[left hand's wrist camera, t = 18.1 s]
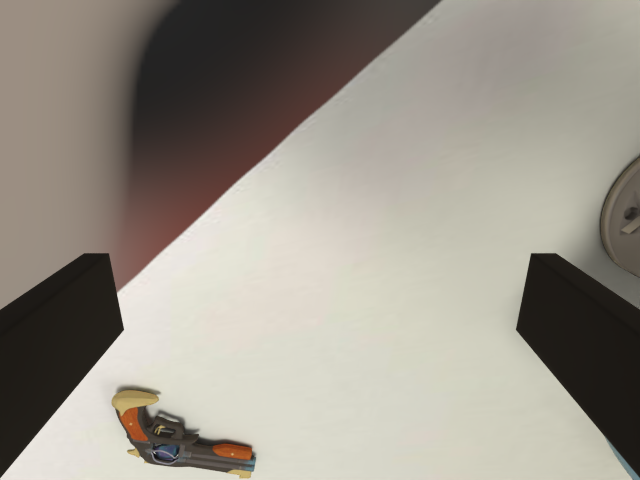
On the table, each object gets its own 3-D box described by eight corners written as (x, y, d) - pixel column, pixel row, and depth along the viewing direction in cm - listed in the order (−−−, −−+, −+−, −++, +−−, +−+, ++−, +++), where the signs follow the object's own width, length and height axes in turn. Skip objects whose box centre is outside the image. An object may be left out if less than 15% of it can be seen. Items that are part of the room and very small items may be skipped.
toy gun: (109, 397, 47) (98, 466, 49) (267, 421, 50) (250, 486, 52) (118, 383, 49) (107, 449, 51) (268, 407, 52) (251, 469, 54)
